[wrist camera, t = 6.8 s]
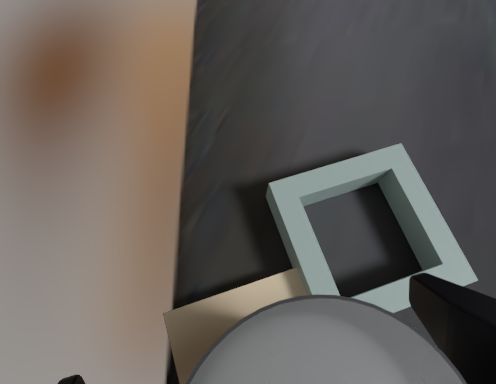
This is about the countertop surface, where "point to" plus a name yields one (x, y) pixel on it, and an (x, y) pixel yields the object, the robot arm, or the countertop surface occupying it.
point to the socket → (402, 204)
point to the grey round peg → (324, 347)
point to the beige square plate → (222, 316)
